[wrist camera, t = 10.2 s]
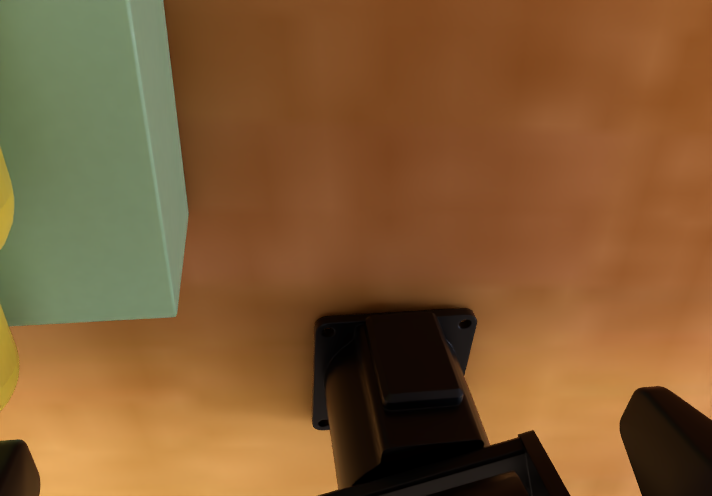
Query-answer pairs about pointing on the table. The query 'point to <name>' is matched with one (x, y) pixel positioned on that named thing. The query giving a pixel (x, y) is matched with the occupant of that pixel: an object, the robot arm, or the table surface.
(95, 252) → the green block
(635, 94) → the table surface
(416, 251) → the table surface
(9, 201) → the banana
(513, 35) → the table surface
